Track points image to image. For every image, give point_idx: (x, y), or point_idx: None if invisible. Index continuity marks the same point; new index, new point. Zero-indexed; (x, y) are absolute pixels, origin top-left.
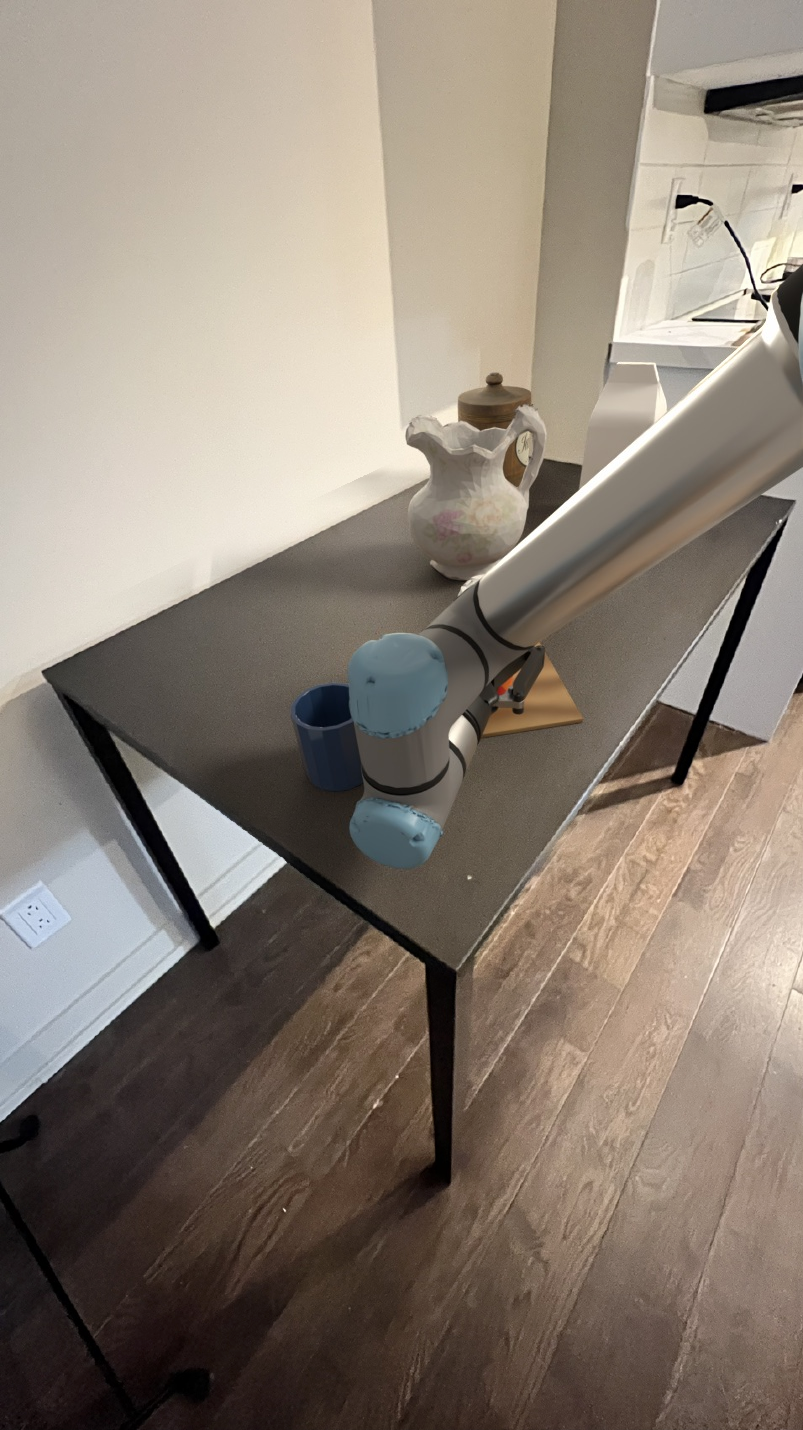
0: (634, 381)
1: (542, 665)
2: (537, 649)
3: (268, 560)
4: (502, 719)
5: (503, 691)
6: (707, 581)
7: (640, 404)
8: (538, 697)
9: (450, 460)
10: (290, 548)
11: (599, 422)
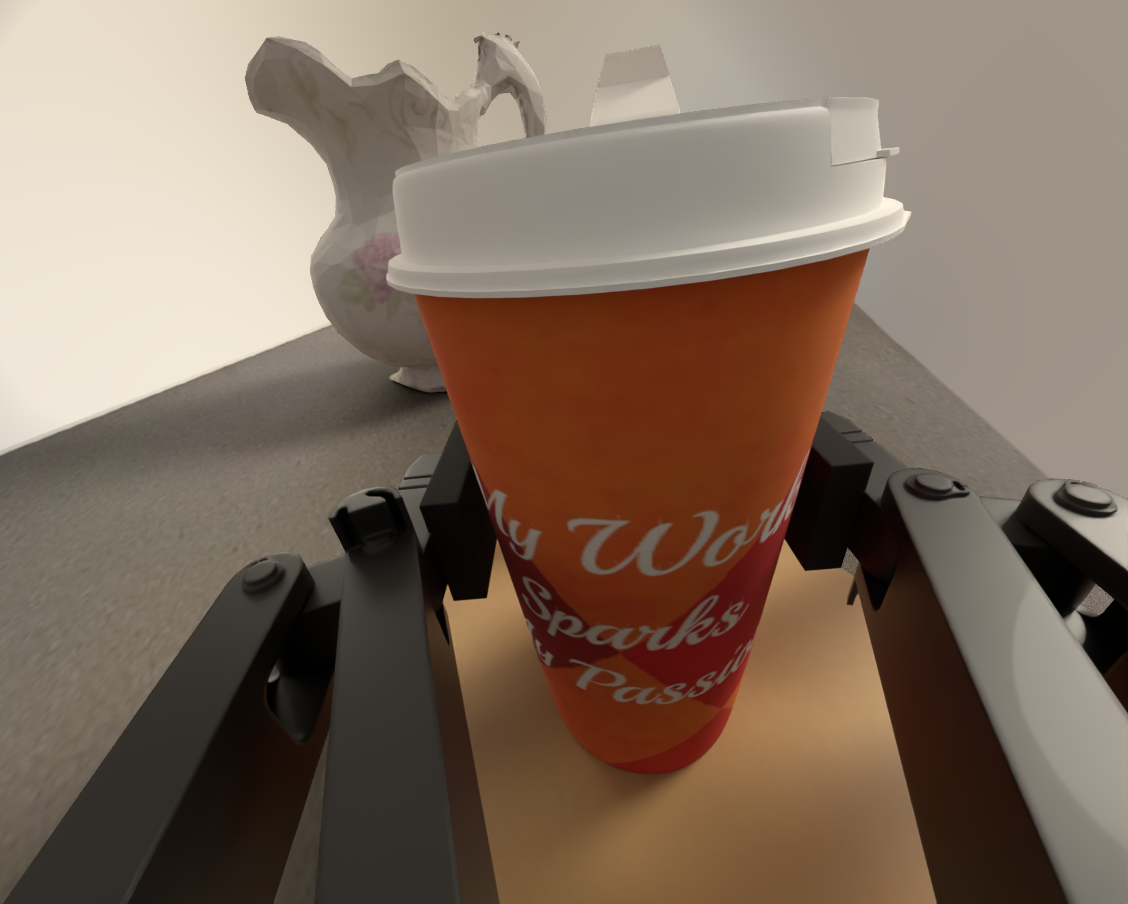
0: (636, 78)
1: (1086, 609)
2: (1093, 516)
3: (56, 435)
4: None
5: (729, 715)
6: None
7: (655, 103)
8: (863, 689)
9: (355, 107)
10: (123, 407)
11: None
